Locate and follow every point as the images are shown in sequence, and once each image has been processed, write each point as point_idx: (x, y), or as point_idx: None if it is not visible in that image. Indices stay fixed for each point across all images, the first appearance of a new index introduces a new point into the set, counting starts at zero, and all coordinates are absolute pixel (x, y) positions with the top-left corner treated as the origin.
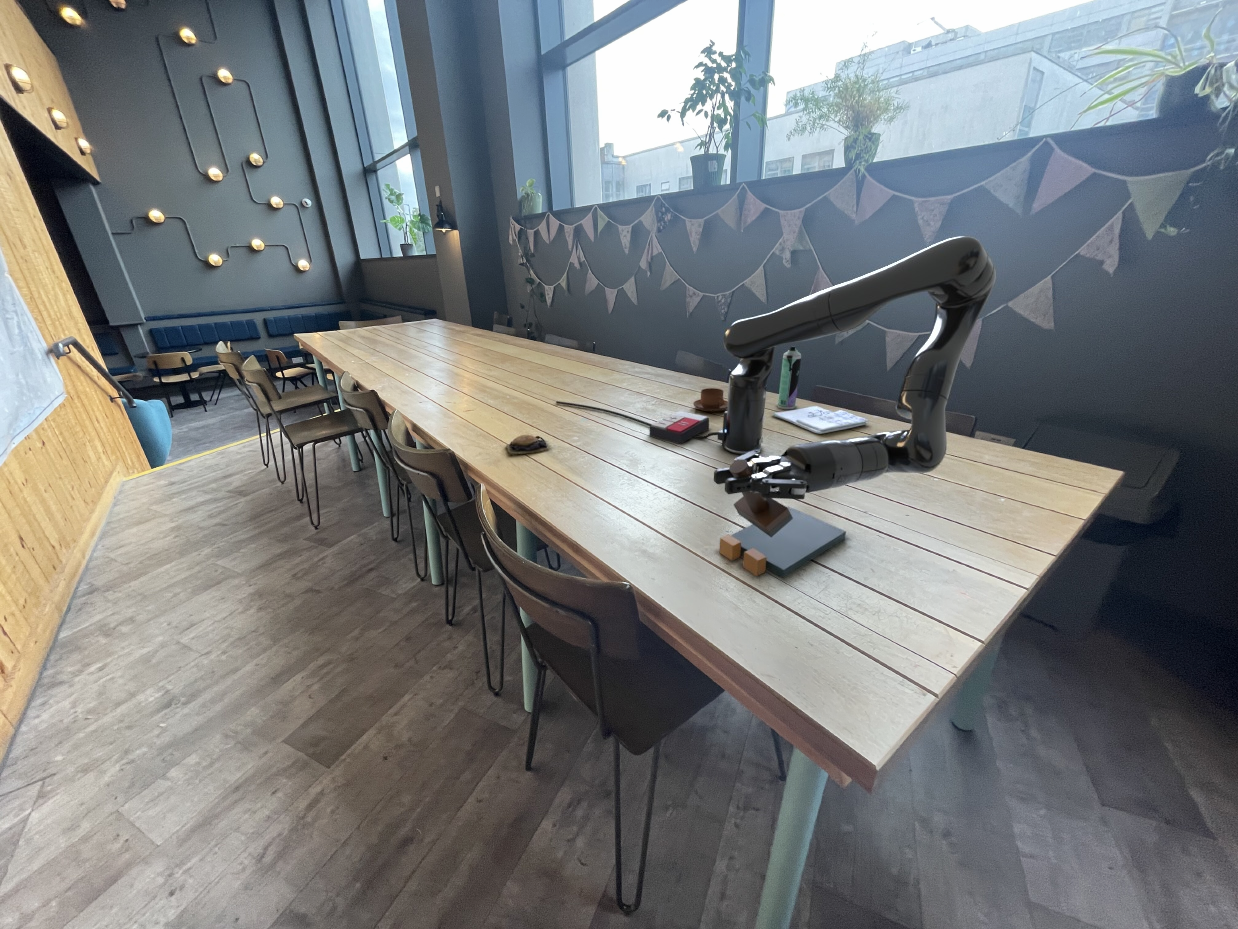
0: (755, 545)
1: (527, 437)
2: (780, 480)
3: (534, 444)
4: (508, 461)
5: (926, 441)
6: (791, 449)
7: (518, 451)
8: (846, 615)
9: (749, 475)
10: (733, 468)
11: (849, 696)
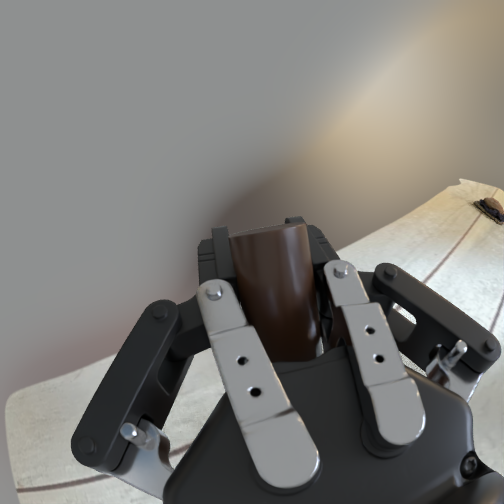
0: None
1: (495, 202)
2: (140, 366)
3: (494, 210)
4: (464, 203)
5: None
6: (466, 500)
7: (480, 205)
8: None
9: (238, 281)
10: (267, 227)
11: (35, 425)
